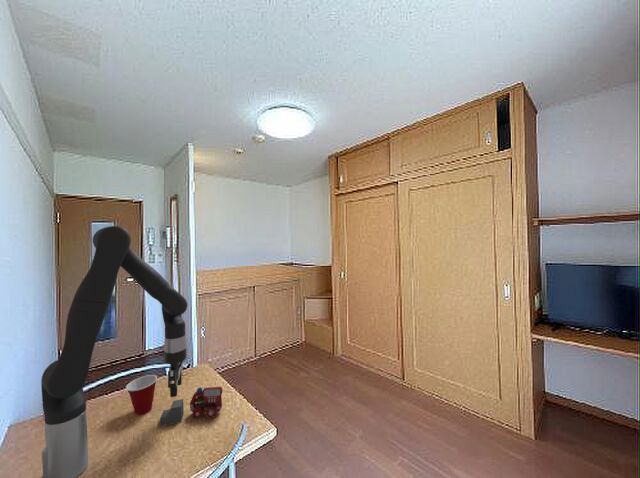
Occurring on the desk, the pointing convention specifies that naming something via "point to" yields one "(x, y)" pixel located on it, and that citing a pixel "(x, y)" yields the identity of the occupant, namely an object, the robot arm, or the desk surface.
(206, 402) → the toy fire truck
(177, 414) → the grey stepped block
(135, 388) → the plastic cup
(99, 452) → the desk surface
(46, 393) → the robot arm
